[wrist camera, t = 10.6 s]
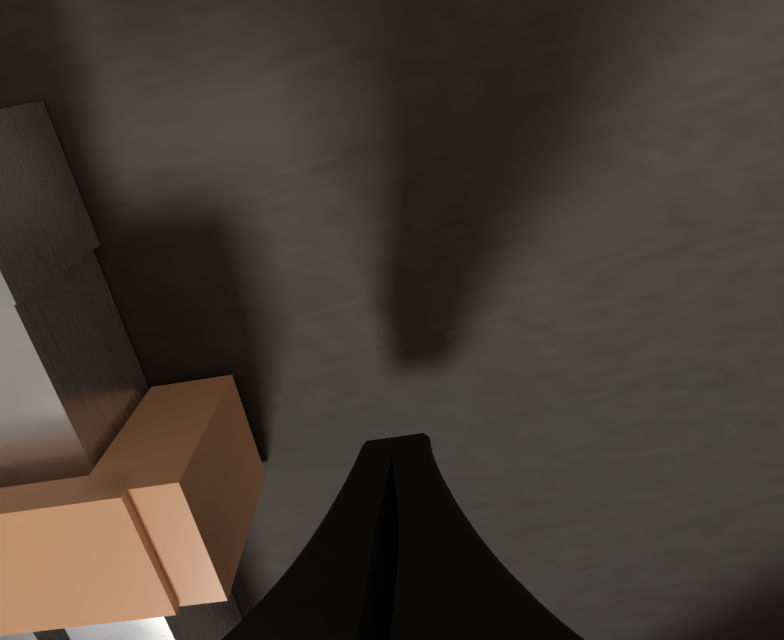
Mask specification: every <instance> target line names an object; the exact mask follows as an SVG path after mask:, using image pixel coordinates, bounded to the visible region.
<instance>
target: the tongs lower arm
mask: <svg viewBox="0 0 784 640" xmlns="http://www.w3.org/2000/svg"><path fill="white" fill-rule="evenodd" d="M98 246H100V242H99V240H98V237H97V235H96V232H95V230H94V227H93V225H92V222H91V220H90V217H89V215H88V212H87V210H86V207H85V205H84V202H83V200H82V197H81V195H80V192H79V190H78V187H77V185H76V182H75V180H74V177H73V175H72V172H71V170H70V167H69V164H68V162H67V159H66V157H65V154H64V152H63V149H62V147H61V144H60V142H59V139H58V137H57V134H56V132H55V129H54V127H53V124H52V122H51V119H50V117H49V114H48V112H47V109H46V107H45V104H44V102H43V100H42V101H37V102H32V103H27V104H22V105H17V106H11V107H6V108H1V109H0V488H3V487H10V486H17V485H24V484H32V483H39V482H46V481H53V480H60V479H67V478H74V477H81V476H88V475H89V474H90V473H91V472H92V470H93V469H94V467H95V466H96V464H97V463H98V462H99V460H100V459H101V457H102V456H103V454H104V453H105V452H106V450H107V449H108V447H109V446H110V445H111V443H112V442H113V440H114V439H115V437H116V436H117V435H118V433H119V432H120V430H121V429H122V428H123V426H124V425H125V423H126V422H127V420H128V419H129V418H130V416H131V415H132V413H133V412H134V410H135V409H136V408H137V406H138V405H139V403H140V402H141V401H142V399H143V398H144V396H145V395H146V393H147V392H148V391H149V386H148V384H147V381H146V379H145V376H144V374H143V372H142V369H141V367H140V364H139V362H138V359H137V357H136V354H135V352H134V349H133V347H132V344H131V342H130V339H129V337H128V334H127V332H126V330H125V327H124V325H123V322H122V320H121V317H120V315H119V312H118V310H117V307H116V305H115V302H114V300H113V297H112V295H111V293H110V290H109V288H108V285H107V283H106V280H105V278H104V275H103V273H102V270H101V268H100V265H99V263H98V260H97V258H96V255H95V253H94V251H93V250H94V249H95V248H97V247H98ZM242 620H243V618H242V616H241V613H240V611H239V608H238V606H237V604H236V601H235V599H234V596H233V594H232V591H230V595H229V598H228V601H222V602H213V603H205V604H197V605H188V606H180V607H179V609H178V612H177V614H176V615H173V616H165V617H156V618H148V619H139V620H131V621H122V622H114V623H105V624H97V625H88V626H80V627H71V628H64V629H65V631H66V632H67V634H68V636H69V637H70V639H71V640H221V639H222V638H223V637H224V636H226V635H227V634H228V633H229V632H230V631H231V630H232V629H233V628H234V627H235V626H236V625H237V624H238V623H239V622H241V621H242Z"/></svg>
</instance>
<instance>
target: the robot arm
mask: <svg viewBox="0 0 784 640" xmlns="http://www.w3.org/2000/svg"><path fill="white" fill-rule="evenodd" d="M221 640H584V639H583V638H581V637H580V636H579V635H577V634H576V633H575V632H574V631H572V630H571V629H570V628H569V627H568V626H566V625H565V624H564V623H563V622H561V621H560V620H559V619H558V618H557V617H556V616H554V615H553V614H552V613H551V612H550V611H549V610H548V609H547V608H545V607H544V606H543V605H542V604H541V603H540V602H539V601H538V600H537V599H536V598H535V597H534V596H533V595H532V594H531V593H530V592H529V591H528V590H527V589H526V588H525V587H524V586H523V585H522V584H521V583H520V582H519V581H518V580H517V579H516V578H515V577H514V576H513V575H512V574H511V573H510V572H509V571H508V570H507V569H506V568H505V567H504V566H503V564H502V563H501V562H500V561H499V560H498V559H497V557H496V556H495V555H494V554H493V553H492V552H491V550H490V549H489V548H488V547H487V545H486V544H485V543H484V542H483V540H482V539H481V538H480V536H479V535H478V534H477V532H476V531H475V530H474V528H473V527H472V525H471V524H470V522H469V521H468V519H467V518H466V516H465V515H464V513H463V512H462V510H461V509H460V507H459V506H458V504H457V502H456V501H455V499H454V497H453V496H452V494H451V492H450V490H449V488H448V486H447V485H446V483H445V481H444V479H443V477H442V475H441V473H440V471H439V469H438V466H437V464H436V462H435V459H434V456H433V453H432V449H431V443H430V438H429V437H428V436H427V435H425V434H424V433H421V434H414V435H407V436H399V437H392V438H385V439H378V440H371V441H366V442H365V444H364V445H363V446H362V448H361V451H360V453H359V455H358V457H357V459H356V461H355V464H354V466H353V468H352V470H351V472H350V474H349V475H348V477H347V479H346V481H345V483H344V485H343V487H342V489H341V490H340V492H339V494H338V496H337V497H336V499H335V501H334V503H333V504H332V506H331V508H330V510H329V511H328V513H327V515H326V516H325V518H324V519H323V521H322V522H321V524H320V525H319V527H318V528H317V530H316V531H315V533H314V534H313V536H312V538H311V539H310V541H309V542H308V543H307V545H306V546H305V548H304V549H303V550H302V552H301V553H300V554H299V556H298V557H297V558H296V560H295V561H294V562H293V564H292V565H291V566H290V567H289V569H288V570H287V571H286V572H285V574H284V575H283V576H282V577H281V579H280V580H279V581H278V582H277V583H276V584H275V585H274V587H273V588H272V589H271V590H270V591H269V592H268V593H267V595H266V596H265V597H264V598H263V599H262V600H261V601H260V602H259V603H258V604H257V605H256V606H255V607H254V608H253V610H252V611H251V612H250V613H249V614H248V615H247V616H246V617H245V618H244V619H243V620H242V621H241V622H239V623H238V624H237V625H236V626H235V627H234V628H233V629H232V630H231V631H230V632H229V633H228V634H227V635H226V636H224V637H223V638H222V639H221Z"/></svg>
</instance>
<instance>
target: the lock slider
mask: <svg viewBox="0 0 784 640" xmlns="http://www.w3.org/2000/svg"><path fill="white" fill-rule="evenodd" d="M265 477H266V474H265V471H264V468H263V465H262V462H261V459H260V456H259V453H258V450H257V447H256V444H255V441H254V438H253V435H252V432H251V429H250V426H249V423H248V420H247V417H246V414H245V411H244V408H243V405H242V402H241V399H240V396H239V393H238V391H237V388H236V385H235V382H234V379H233V376H232V375H226V376H220V377H213V378H207V379H200V380H194V381H187V382H181V383H174V384H168V385H161V386H154V387H151V388H150V389H149V391H148V392H147V393H146V395H145V396H144V398H143V399H142V401H141V402H140V403H139V405H138V406H137V408H136V409H135V410H134V412H133V413H132V415H131V416H130V418H129V419H128V420H127V422H126V423H125V425H124V426H123V428H122V429H121V430H120V432H119V433H118V435H117V436H116V437H115V439H114V440H113V442H112V443H111V445H110V446H109V447H108V449H107V450H106V452H105V453H104V454H103V456H102V457H101V459H100V460H99V462H98V463H97V464H96V466H95V467H94V469H93V470H92V472H91V473H90V474H89V475H88V476H81V477H74V478H67V479H60V480H53V481H46V482H39V483H32V484H24V485H17V486H10V487H3V488H0V636H3V635H12V634H20V633H29V632H37V631H46V630H54V629H63V628H71V627H80V626H88V625H97V624H105V623H114V622H122V621H131V620H139V619H148V618H156V617H165V616H173V615H176V614H177V612H178V609H179V607H180V606H188V605H197V604H205V603H213V602H222V601H228V598H229V595H230V591H231V588H232V585H233V581H234V578H235V575H236V572H237V568H238V565H239V562H240V559H241V555H242V552H243V549H244V546H245V542H246V539H247V536H248V532H249V529H250V526H251V523H252V519H253V516H254V513H255V510H256V506H257V503H258V500H259V497H260V493H261V490H262V487H263V483H264V480H265Z"/></svg>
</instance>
